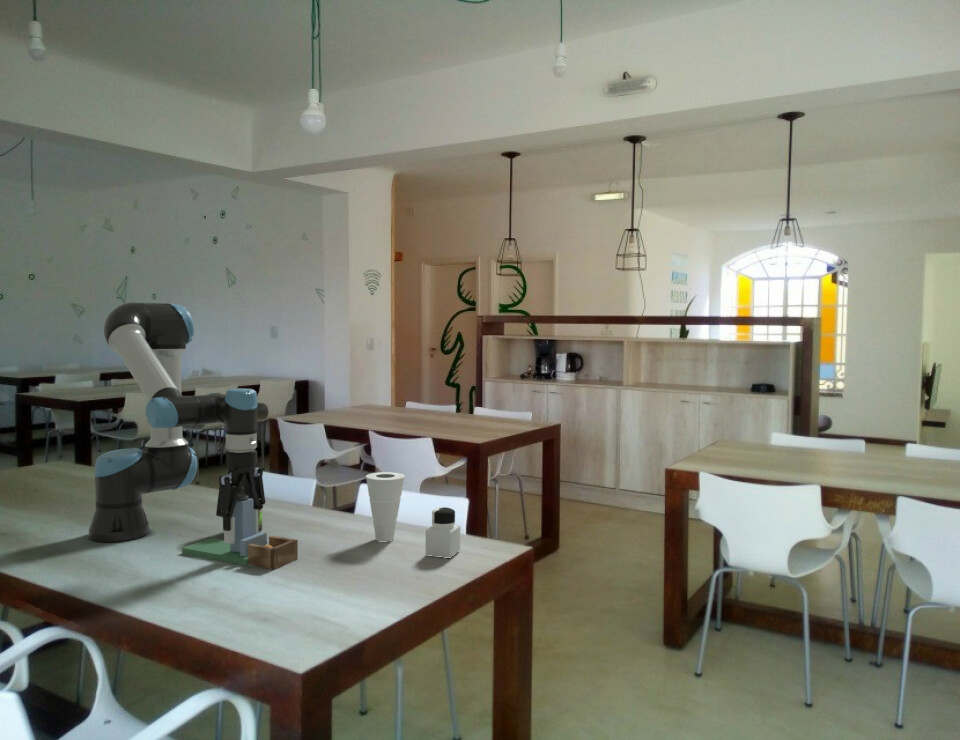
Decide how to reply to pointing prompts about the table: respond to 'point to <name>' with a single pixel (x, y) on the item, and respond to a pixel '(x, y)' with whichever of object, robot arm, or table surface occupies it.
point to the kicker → (245, 526)
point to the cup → (385, 502)
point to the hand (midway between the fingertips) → (241, 538)
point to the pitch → (215, 551)
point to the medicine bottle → (443, 533)
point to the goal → (273, 553)
